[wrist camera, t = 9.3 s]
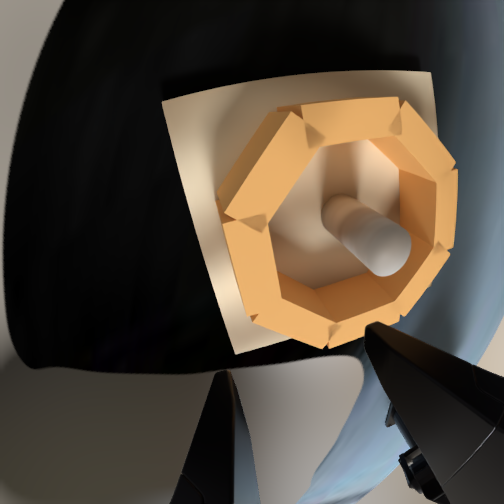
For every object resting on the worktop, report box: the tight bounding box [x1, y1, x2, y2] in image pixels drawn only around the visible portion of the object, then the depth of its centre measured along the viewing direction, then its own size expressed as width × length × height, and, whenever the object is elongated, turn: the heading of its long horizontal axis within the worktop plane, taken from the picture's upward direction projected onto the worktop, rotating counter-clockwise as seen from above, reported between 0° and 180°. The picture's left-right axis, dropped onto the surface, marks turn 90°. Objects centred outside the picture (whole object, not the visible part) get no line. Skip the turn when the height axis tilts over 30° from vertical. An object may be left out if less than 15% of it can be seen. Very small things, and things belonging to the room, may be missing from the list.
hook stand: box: [162, 70, 438, 354], centre depth 15 cm, size 16×16×6 cm
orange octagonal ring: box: [215, 97, 458, 349], centre depth 15 cm, size 13×13×4 cm
